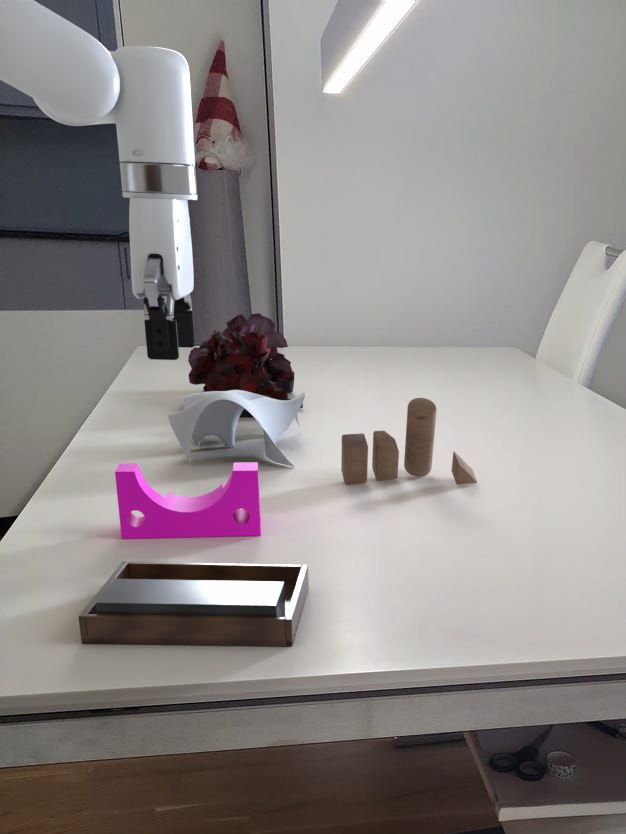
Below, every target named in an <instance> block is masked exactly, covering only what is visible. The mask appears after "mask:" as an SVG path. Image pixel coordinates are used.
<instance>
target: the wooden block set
mask: <svg viewBox="0 0 626 834" xmlns="http://www.w3.org/2000/svg"><path fill="white" fill-rule="evenodd" d="M437 411H438V410H437V405H436V404H435V402H434V401H432V400H431V399H428V398H426V397H414V398H413V399H411V400H410V401H409V402H408V404H407V410H406V412H407V413H406V427H405V443H404V457H403V459H404V461H403V467H404V470H405V472H406V473H408V474H409V475H411V476H414V477H419V478H420V477H425V476H427V475H429V474H430V473H431V471H432V468H433V456H434V444H435V432H436V421H437ZM398 447H399V446H398V444H397V441H396V439H395V438H394V437H393V436H392V435H391V434H389V433H388V432H387V431H385V430H374V431H373V434H372V457H371V458H372V459H371V461H372V464H371V468H372V472H373V475H374V478H375V480H376V481H384V480H396V479H398V476H399V458H400V450H399V448H398ZM368 461H369V445H368V441H367V437H366V435H365V434H364V433H363V432H362V433H347V434H346V433H345V434H342V435H341V469H340V470H341V474H342V478H343V483H344V484H345V485H354V484H366V483H367V482H368V464H369V463H368ZM451 474H452V476H453V479H454V482H455V484H456V485H465V484H466V485H467V484H477V483H478V480H477V478H476V475H475V473H474V470H473V468H472V467H471V466H470V465H469V464H468V463H467V462H466V461H465V460H464V459H463V458H462V457H461V456H460V455H459V454H458V453H457V452H456V451H455V450H454V451H453V452H452V462H451Z"/></svg>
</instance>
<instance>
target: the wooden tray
mask: <svg viewBox="0 0 626 834" xmlns="http://www.w3.org/2000/svg"><path fill="white" fill-rule="evenodd" d="M309 589H310V587H309V565H308V564H278V563H277V564H273V563H271V564H269V563H226V562H225V563H223V562H222V563H221V562H220V563H218V562H217V563H216V562H174V561H173V562H168V561H167V562H165V561H122V562H121V563H120V564H119V565H118V566H117V568H116V569H115V570H114V572H113V573H112V574H111V575H110V577H109V578H108V579H107V580H106V582H105V583H104V584H103V585H102V586H101V588H100V589H99V590H98V591H97V593H96V594H95V595H94V596H93V598H92V599H91V600H90V601H89V602H88V603H87V605H86V606H85V607H84V608H83V610H82V611H81V612H80V613H79V615H78V616H77V617H78V627H79V633H80V641H81V642H80V643H81V644H91V645H92V644H93V645H94V644H98V645H99V644H101V645H103V644H104V645H106V644H107V645H112V644H113V645H167V646H168V645H173V646H174V645H175V646H176V645H177V646H179V645H180V646H236V647H237V646H241V647H243V646H245V647H247V646H248V647H249V646H250V647H251V646H253V647H293V645H294V642H295V639H296V635H297V631H298V628H299V625H300V622H301V617H302V614H303V610H304V607H305V603H306V600H307V597H308V592H309Z"/></svg>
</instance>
